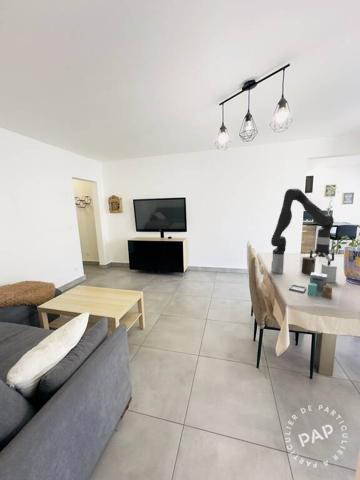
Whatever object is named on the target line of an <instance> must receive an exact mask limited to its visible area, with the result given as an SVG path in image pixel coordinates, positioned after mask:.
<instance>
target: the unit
mask: <svg viewBox="0 0 360 480" xmlns="http://www.w3.org/2000/svg"><path fill="white" fill-rule="evenodd" d="M309 283H315V284H317V292H320V293H323V286H324V285H328V282H327V274H321V272H312V273H311V275H310V279H309Z"/></svg>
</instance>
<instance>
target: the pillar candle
mask: <svg viewBox="0 0 360 480" xmlns="http://www.w3.org/2000/svg"><path fill="white" fill-rule="evenodd" d="M301 261H302V262H301V264H302V265H301V273H302V274H304V275H311V273H312V272H314V273H316V272H315V271H316V263H315V264H313V263H312V258H310V256H303V257H302V260H301ZM315 262H316V258H315Z"/></svg>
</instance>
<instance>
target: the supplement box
mask: <svg viewBox="0 0 360 480" xmlns="http://www.w3.org/2000/svg"><path fill="white" fill-rule="evenodd" d="M337 268H338V266H336V265H334V264H332V263H330V266H328V263H321V269H320V273H321V274H327V283H336V282H337V272H338V271H337Z"/></svg>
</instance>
